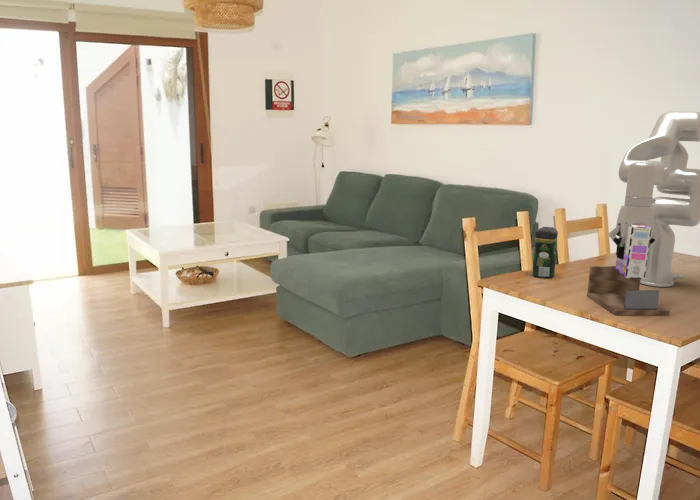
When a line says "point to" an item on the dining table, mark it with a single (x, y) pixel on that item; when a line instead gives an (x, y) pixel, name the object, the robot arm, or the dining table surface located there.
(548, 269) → the coffee jar
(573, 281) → the dining table surface
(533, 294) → the dining table surface
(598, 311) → the dining table surface
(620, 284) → the wooden shelf
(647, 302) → the grey flat slab
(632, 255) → the candy box
